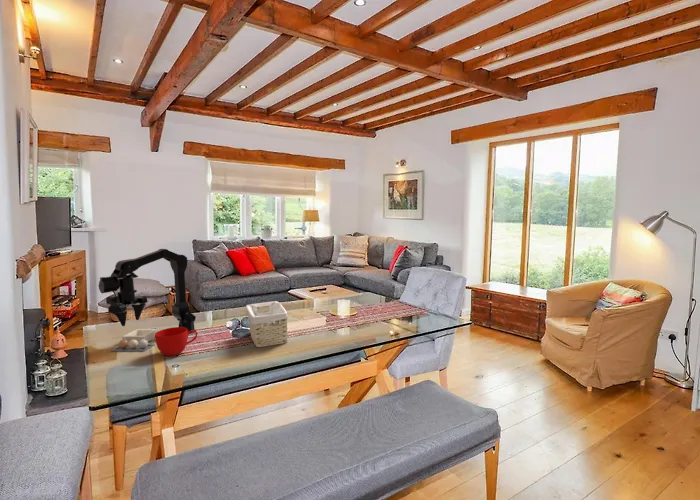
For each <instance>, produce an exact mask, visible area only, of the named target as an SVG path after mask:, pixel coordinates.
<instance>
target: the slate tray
mask: <svg viewBox="0 0 700 500" xmlns="http://www.w3.org/2000/svg"><path fill="white" fill-rule="evenodd" d="M153 347H156V343H148V346H147V347H146V348H143V349H142V348H139V346H137V347H136V348H130V347H129V346H127V347H126V348H120V347H119V346H117V347H115V348H112V349H111V352H121V353H122V352H129V353H130V352H135V353H136V352H137V353H141V352H142V353H144V352H146V351H148V350H150V349H151V348H153Z"/></svg>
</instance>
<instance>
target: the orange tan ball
mask: <svg viewBox="0 0 700 500" xmlns="http://www.w3.org/2000/svg"><path fill="white" fill-rule="evenodd" d="M127 346H128V341H127V340H125V339H123V340H122V339H121V340H119V342H118V347H120V348H126V347H127Z"/></svg>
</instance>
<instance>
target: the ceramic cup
mask: <svg viewBox="0 0 700 500" xmlns="http://www.w3.org/2000/svg"><path fill="white" fill-rule="evenodd" d="M195 330H196V329H195ZM195 330H191V331H189V332H188V330H187V328H184V327H179V326H176V327H175V326H174V327H168V328H164V329H160V330H158V332H156V333H155V338H154V339H155V345H156V347H157V349H158V350H159V352H160V353H161V354H162V355H164V356H165V355H166V357H173V356H172V355H176V354H179V353H181V352H182V351H183V352H184V350H185V348H186V347H187V345H189V344H190V343H192V342H194V341H195V340H196V339H197V337H198V331H197V330H196V331H195ZM191 332H193V333H195V336H194V337H193V338H192V339H190V340H188V338H189V335H191V334H190V333H191ZM183 352H182V353H183ZM182 353H181V354H182Z"/></svg>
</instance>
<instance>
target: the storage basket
mask: <svg viewBox="0 0 700 500" xmlns="http://www.w3.org/2000/svg"><path fill="white" fill-rule="evenodd" d="M268 308H269V311H265V312H262V311H261V312H258V310H259V309H268ZM245 309H246V314H247V318H248V325H249V326H248V327H249V332H250V337H251V340H252V342H253V343H254V345H255V347H256V348H262V347H268V346H276V345H281V344H283V345H284V344H286V343H288V318H289V316H288V312H287V310H286V309H285V307H284V306H283V305H282V303H281V302H279V301H278V300H274V301H266V302H258V303H250V304H246V305H245Z"/></svg>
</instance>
